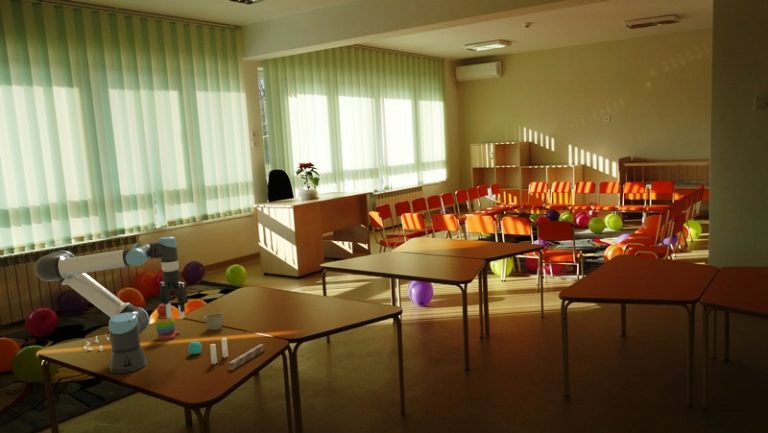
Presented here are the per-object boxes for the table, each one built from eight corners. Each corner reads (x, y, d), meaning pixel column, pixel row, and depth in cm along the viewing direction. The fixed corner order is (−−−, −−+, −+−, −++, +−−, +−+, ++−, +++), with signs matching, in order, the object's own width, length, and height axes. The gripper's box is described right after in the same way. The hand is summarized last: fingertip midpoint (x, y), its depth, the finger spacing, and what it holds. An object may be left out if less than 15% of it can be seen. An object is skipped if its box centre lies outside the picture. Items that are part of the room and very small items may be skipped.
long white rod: (232, 370, 249) (232, 363, 249) (229, 369, 250) (228, 362, 249) (264, 350, 271) (263, 344, 271) (260, 350, 272) (259, 344, 271)
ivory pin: (226, 357, 264) (224, 339, 263) (221, 357, 265) (220, 339, 264) (229, 356, 267) (227, 338, 266) (225, 355, 268) (223, 337, 267)
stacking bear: (173, 340, 296) (169, 306, 294) (153, 341, 296) (149, 307, 294) (181, 333, 306) (177, 300, 304) (162, 334, 307) (158, 301, 305)
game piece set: (114, 336, 309) (113, 329, 308) (133, 343, 296) (132, 335, 296) (76, 348, 294) (75, 340, 293) (94, 355, 281) (93, 347, 281)
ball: (196, 356, 268) (195, 344, 268) (186, 355, 271) (184, 343, 270) (205, 352, 274) (203, 339, 273) (194, 351, 276) (193, 339, 276)
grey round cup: (204, 328, 313) (202, 315, 312) (223, 324, 317) (221, 312, 316) (206, 333, 304) (205, 319, 303) (226, 329, 308) (225, 316, 307)
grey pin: (215, 364, 257) (213, 345, 256) (210, 364, 258) (208, 345, 257) (218, 362, 259) (216, 344, 258) (214, 362, 260) (212, 343, 259)
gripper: (193, 268, 271) (198, 316, 274) (159, 267, 278) (164, 314, 281) (182, 272, 264) (187, 321, 267) (148, 271, 271) (153, 319, 274)
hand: (175, 317), depth 274 cm, fingers open, 7 cm apart
